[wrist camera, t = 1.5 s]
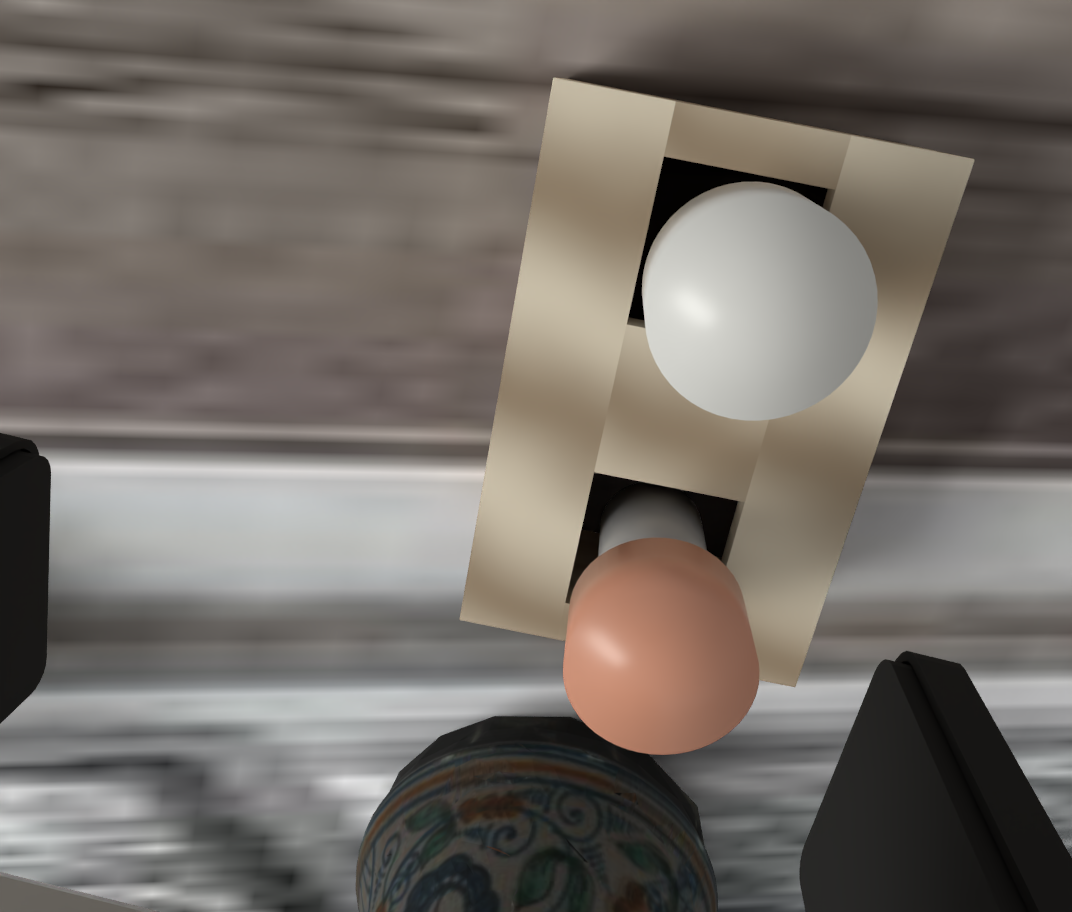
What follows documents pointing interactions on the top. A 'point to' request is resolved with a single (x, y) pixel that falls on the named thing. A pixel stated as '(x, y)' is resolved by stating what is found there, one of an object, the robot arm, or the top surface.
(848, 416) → the button box
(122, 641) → the top surface
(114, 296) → the top surface
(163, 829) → the top surface
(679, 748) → the terracotta button
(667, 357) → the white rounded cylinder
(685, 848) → the beer stein
